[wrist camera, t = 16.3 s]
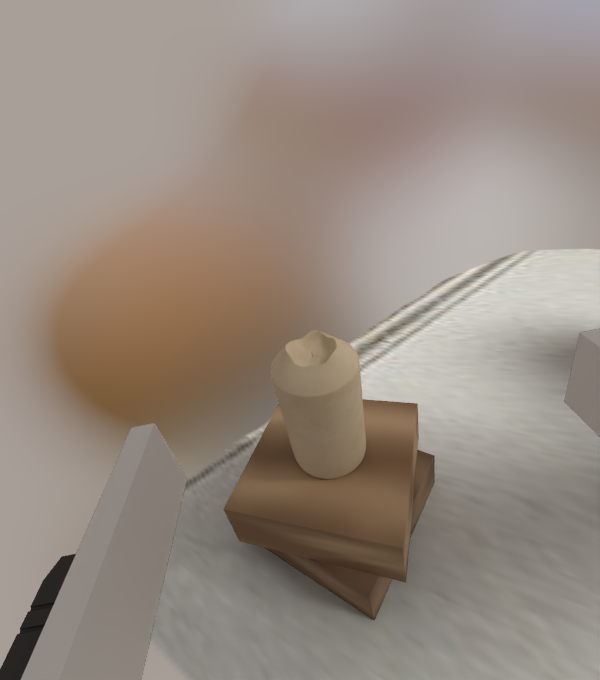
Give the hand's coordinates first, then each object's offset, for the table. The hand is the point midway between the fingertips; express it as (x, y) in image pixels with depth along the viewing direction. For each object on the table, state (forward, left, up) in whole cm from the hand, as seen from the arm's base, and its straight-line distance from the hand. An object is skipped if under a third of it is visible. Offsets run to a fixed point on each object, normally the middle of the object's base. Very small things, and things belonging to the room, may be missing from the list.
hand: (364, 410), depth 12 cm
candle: (-7, -8, -14) cm, 17 cm away
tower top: (-7, -8, -18) cm, 21 cm away
